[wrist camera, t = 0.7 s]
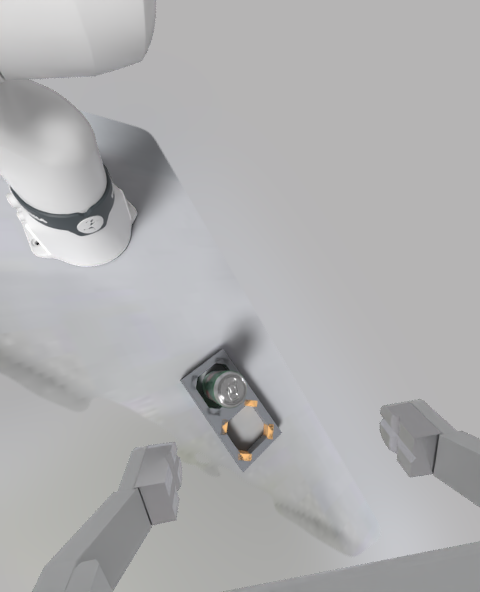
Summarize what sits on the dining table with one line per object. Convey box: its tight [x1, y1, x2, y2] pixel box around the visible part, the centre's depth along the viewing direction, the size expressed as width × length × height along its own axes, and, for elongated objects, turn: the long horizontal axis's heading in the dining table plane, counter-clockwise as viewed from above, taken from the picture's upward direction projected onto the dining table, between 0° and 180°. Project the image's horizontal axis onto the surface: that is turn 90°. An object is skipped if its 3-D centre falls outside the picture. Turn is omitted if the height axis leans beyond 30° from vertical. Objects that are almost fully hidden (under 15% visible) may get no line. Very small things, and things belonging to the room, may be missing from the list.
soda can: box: [202, 370, 247, 408], centre depth 41 cm, size 5×5×12 cm
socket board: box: [180, 349, 282, 472], centre depth 45 cm, size 18×9×2 cm, turn 38°
